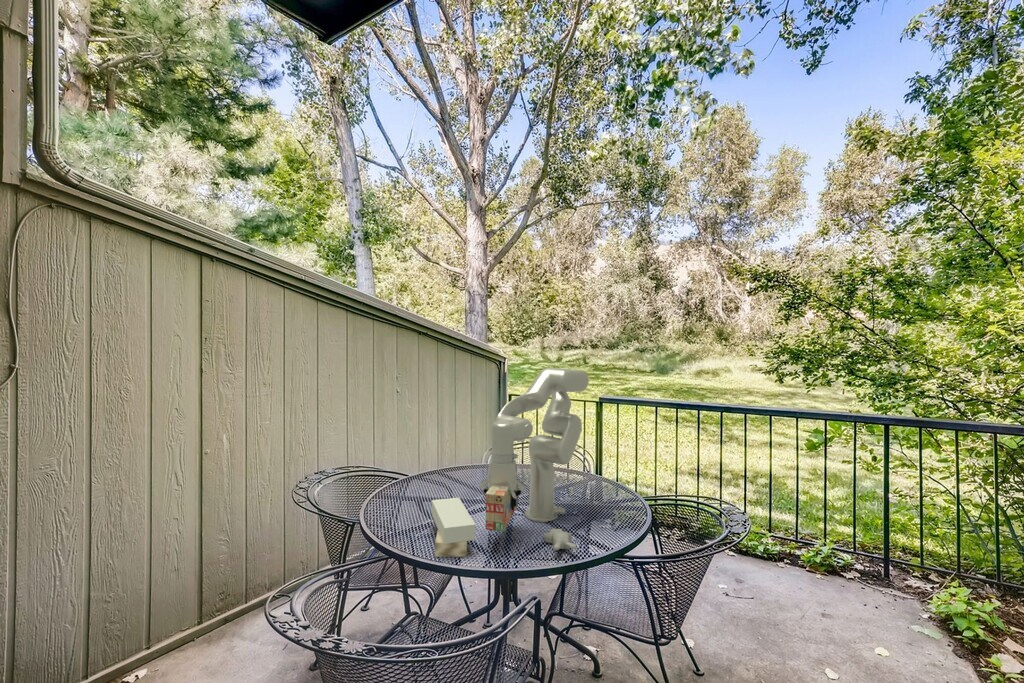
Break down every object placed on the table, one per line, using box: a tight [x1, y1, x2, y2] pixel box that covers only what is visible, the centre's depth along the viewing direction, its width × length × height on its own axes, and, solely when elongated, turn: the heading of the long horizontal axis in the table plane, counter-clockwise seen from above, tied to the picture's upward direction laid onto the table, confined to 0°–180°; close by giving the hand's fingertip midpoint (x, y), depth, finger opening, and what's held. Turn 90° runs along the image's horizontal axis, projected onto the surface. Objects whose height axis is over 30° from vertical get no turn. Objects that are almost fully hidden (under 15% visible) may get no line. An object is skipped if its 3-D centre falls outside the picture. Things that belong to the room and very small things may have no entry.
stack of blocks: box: [485, 485, 519, 533], centre depth 156 cm, size 21×6×12 cm, turn 166°
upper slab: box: [430, 497, 477, 544], centre depth 154 cm, size 10×24×5 cm, turn 20°
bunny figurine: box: [543, 528, 578, 551], centre depth 151 cm, size 10×5×15 cm
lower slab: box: [434, 530, 468, 558], centre depth 154 cm, size 10×24×5 cm, turn 4°
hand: (502, 507), depth 155 cm, fingers closed on stack of blocks, 6 cm apart
